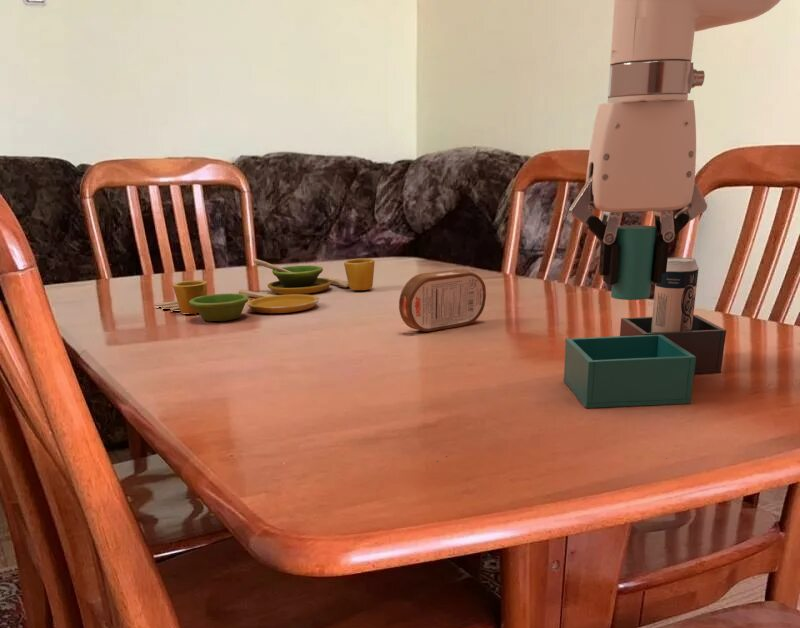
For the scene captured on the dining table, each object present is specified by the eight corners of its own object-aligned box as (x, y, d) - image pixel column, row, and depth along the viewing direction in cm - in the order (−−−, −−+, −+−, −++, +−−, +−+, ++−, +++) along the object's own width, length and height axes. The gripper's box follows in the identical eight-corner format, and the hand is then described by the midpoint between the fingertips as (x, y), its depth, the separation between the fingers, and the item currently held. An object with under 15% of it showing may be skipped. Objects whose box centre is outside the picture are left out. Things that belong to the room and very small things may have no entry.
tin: (476, 319, 132) (477, 265, 129) (489, 322, 130) (489, 267, 126) (398, 333, 125) (396, 276, 122) (410, 336, 123) (408, 278, 119)
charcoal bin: (692, 353, 107) (696, 314, 105) (720, 372, 98) (726, 330, 96) (618, 357, 107) (621, 318, 105) (640, 376, 98) (643, 334, 96)
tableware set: (328, 280, 177) (325, 249, 174) (409, 294, 157) (408, 259, 154) (144, 308, 154) (138, 272, 151) (211, 328, 134) (206, 288, 131)
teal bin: (657, 376, 98) (661, 334, 96) (690, 403, 88) (696, 356, 85) (563, 380, 98) (565, 338, 95) (585, 408, 87) (588, 361, 85)
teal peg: (643, 292, 90) (649, 224, 87) (654, 299, 86) (661, 228, 83) (606, 294, 90) (611, 226, 87) (616, 300, 86) (622, 229, 83)
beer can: (690, 365, 100) (702, 261, 95) (650, 365, 101) (659, 262, 96) (685, 355, 104) (696, 256, 99) (646, 355, 105) (655, 257, 100)
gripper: (719, 85, 83) (697, 274, 91) (554, 91, 83) (546, 279, 91) (750, 80, 76) (723, 284, 84) (570, 86, 76) (560, 290, 84)
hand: (631, 279), depth 87 cm, fingers closed on teal peg, 4 cm apart
